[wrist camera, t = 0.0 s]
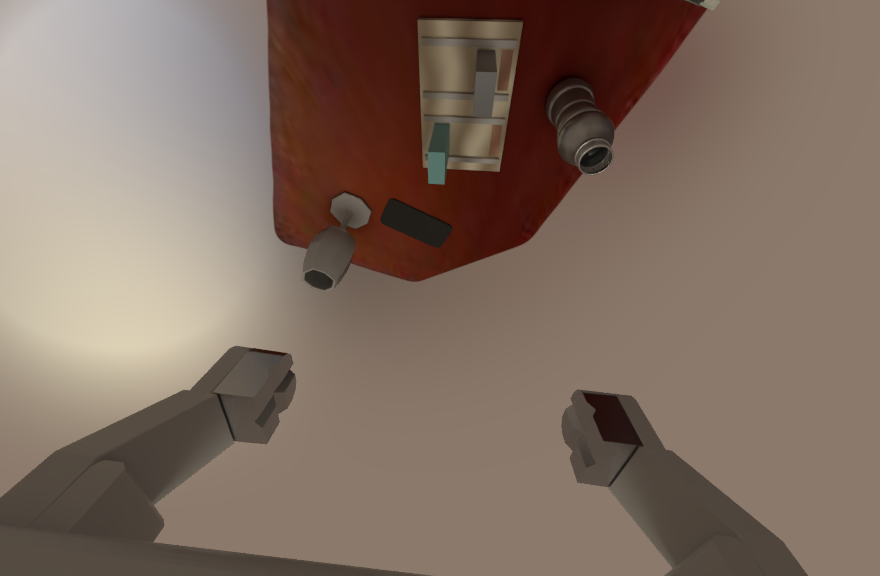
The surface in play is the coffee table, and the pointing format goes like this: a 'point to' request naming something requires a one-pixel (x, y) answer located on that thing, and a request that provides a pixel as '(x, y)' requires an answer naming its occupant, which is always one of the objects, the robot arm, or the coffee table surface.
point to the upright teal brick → (438, 153)
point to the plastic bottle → (580, 126)
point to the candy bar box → (705, 3)
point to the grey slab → (484, 83)
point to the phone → (415, 223)
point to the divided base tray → (466, 86)
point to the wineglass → (334, 244)
